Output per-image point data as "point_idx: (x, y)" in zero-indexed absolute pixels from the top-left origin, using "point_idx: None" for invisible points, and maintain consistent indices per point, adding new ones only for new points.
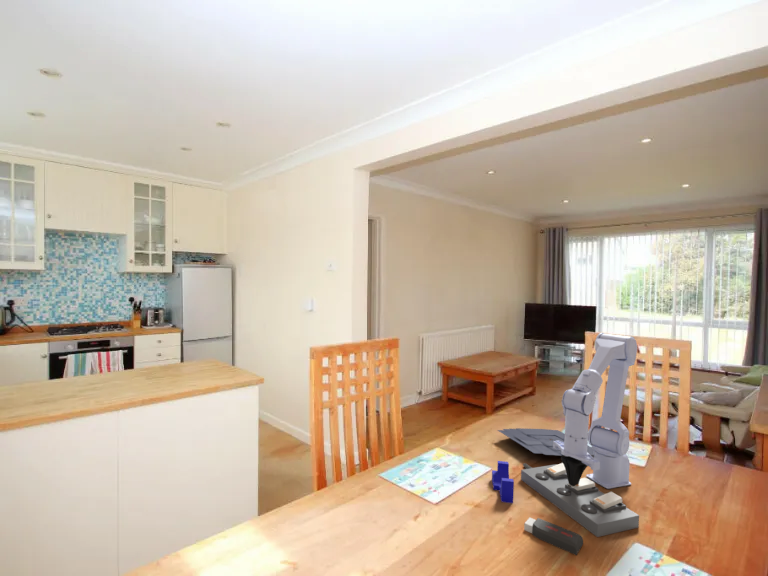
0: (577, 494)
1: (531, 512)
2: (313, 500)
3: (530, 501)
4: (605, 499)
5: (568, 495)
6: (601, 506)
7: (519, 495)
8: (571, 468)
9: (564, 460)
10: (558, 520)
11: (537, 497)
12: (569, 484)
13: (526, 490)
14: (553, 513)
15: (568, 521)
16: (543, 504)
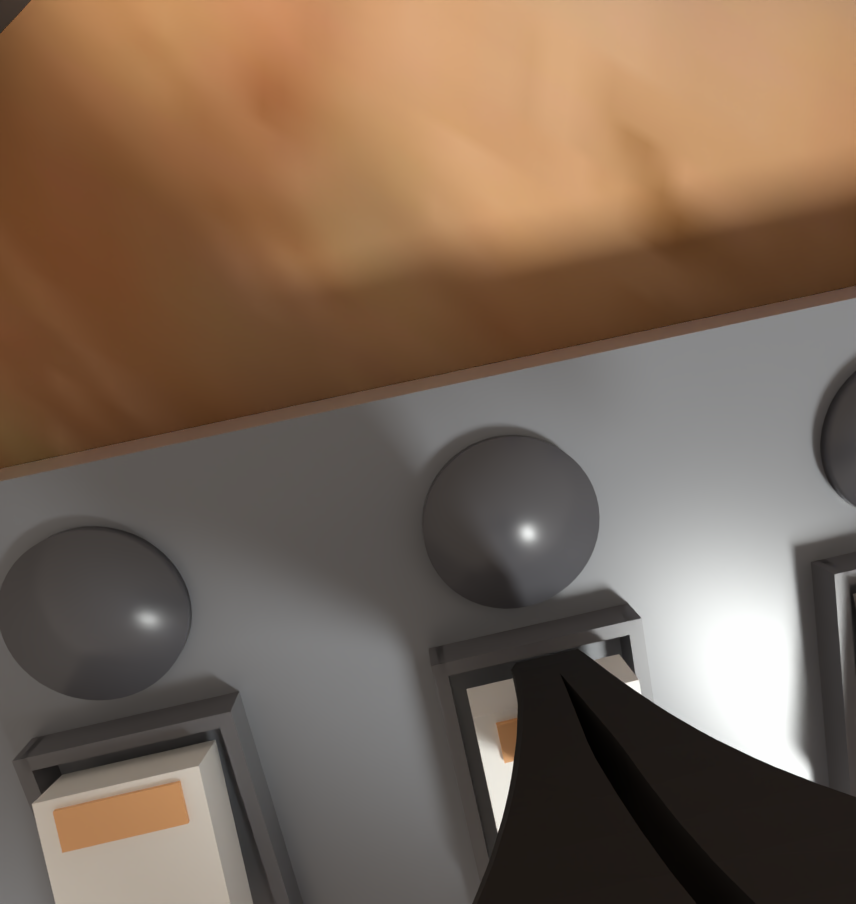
0: (430, 654)
1: (339, 5)
2: None
3: (558, 122)
4: (139, 897)
5: (422, 533)
6: (89, 775)
7: (696, 48)
8: (553, 864)
9: (851, 897)
10: (176, 250)
11: (625, 255)
12: (607, 663)
13: (780, 199)
14: (307, 268)
15: (157, 352)
16: (484, 249)
